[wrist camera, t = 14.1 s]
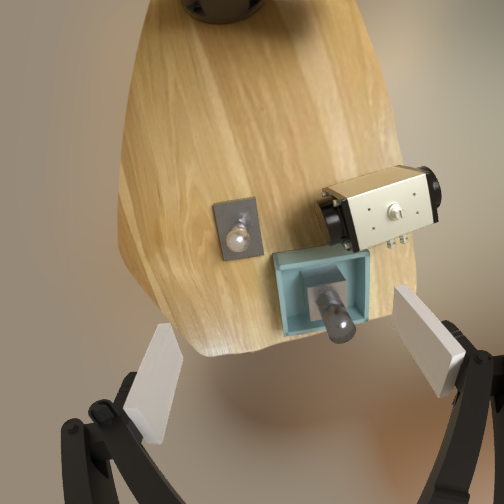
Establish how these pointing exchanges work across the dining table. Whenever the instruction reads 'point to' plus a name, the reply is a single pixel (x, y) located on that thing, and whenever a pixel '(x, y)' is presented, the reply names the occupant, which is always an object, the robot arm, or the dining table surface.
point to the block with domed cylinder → (328, 301)
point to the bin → (293, 261)
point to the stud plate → (239, 215)
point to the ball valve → (378, 207)
